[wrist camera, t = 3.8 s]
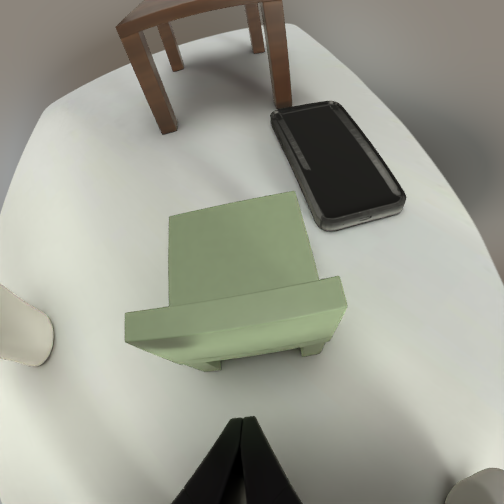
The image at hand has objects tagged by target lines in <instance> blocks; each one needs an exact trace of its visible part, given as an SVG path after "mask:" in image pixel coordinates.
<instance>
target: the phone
mask: <svg viewBox="0 0 504 504" xmlns="http://www.w3.org/2000/svg"><path fill="white" fill-rule="evenodd" d="M270 117H271V124H272V127H273V129H274V131H275V133H276V135H277V137H278V139H279V142H280V144H281V146H282V148H283V150H284V152H285V154H286V156H287V158H288V161H289V163H290V165H291V167H292V169H293V171H294V174H295V176H296V178H297V180H298V183H299V185H300V187H301V189H302V192H303V194H304V196H305V198H306V201H307V203H308V205H309V208H310V210H311V212H312V215H313V217H314V219H315V222H316V224H317V225H318V226H319V227H320V228H321V229H323V230H325V231H337V230H340V229H344V228H348V227H351V226H355V225H359V224H362V223H366V222H370V221H373V220H377V219H381V218H384V217H388V216H392V215H395V214H398V213H400V212H401V210H402V208H403V206H404V204H405V201H406V195H405V193H404V191H403V189H402V188H401V186H400V184H399V183H398V181H397V180H396V178H395V177H394V175H393V174H392V172H391V171H390V169H389V168H388V166H387V165H386V163H385V162H384V161H383V159H382V158H381V156H380V155H379V153H378V152H377V151H376V149H375V148H374V146H373V145H372V144H371V142H370V141H369V140H368V138H367V137H366V136H365V134H364V133H363V132H362V130H361V129H360V128H359V127H358V125H357V124H356V123H355V121H354V120H353V119H352V118H351V116H350V115H349V114H348V113H347V112H346V110H345V109H344V108H343V107H342V106H341V105H340V104H339V103H337V102H334V101H324V102H317V103H311V104H305V105H299V106H294V107H288V108H283V109H278V110H275V111H273V112H272V113H271V115H270Z"/></svg>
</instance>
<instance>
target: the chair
mask: <svg viewBox="0 0 504 504" xmlns="http://www.w3.org/2000/svg"><path fill="white" fill-rule="evenodd" d="M168 277H169V307H162V308H156V309H149V310H142V311H134V312H127V313H125V342H126V343H128V344H130V345H133V346H135V347H137V348H140V349H142V350H145V351H147V352H149V353H152V354H154V355H157V356H159V357H162V358H165V359H167V360H170V361H172V362H175V363H177V364H180V365H183V364H184V365H187V366H190V367H193V368H195V369H198V370H201V371H204V372H208V371H217V370H221V361H220V360H227V359H235V358H242V357H248V356H255V355H261V354H267V353H273V352H279V351H284V350H290V349H295V348H300V349H301V354H302V357H305V356H310V355H315V354H319V353H320V352H321V351H322V349H323V347H324V345H325V343H326V342H329V341H330V340H331V338H332V336H333V334H334V332H335V330H336V328H337V326H338V324H339V322H340V321H341V319H342V317H343V315H344V313H345V311H346V309H347V302H346V298H345V294H344V291H343V287H342V283H341V280H340V277H339V276H335V277H331V278H326V279H321V280H319V277H318V273H317V269H316V265H315V262H314V258H313V254H312V250H311V246H310V243H309V239H308V235H307V232H306V228H305V225H304V221H303V218H302V214H301V211H300V207H299V204H298V200H297V197H296V194H295V191H291V192H285V193H280V194H274V195H269V196H264V197H259V198H253V199H248V200H243V201H238V202H234V203H229V204H224V205H219V206H214V207H210V208H205V209H201V210H196V211H192V212H187V213H183V214H179V215H174V216H170V217H169V247H168Z"/></svg>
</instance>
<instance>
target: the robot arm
mask: <svg viewBox="0 0 504 504" xmlns="http://www.w3.org/2000/svg"><path fill="white" fill-rule="evenodd" d="M171 504H303V503H302V502H301V500H300V499H299V497H298V496H297V494H296V492H295V491H294V489H293V487H292V485H291V484H290V482H289V480H288V478H287V477H286V475H285V473H284V471H283V469H282V467H281V466H280V464H279V462H278V460H277V458H276V456H275V454H274V452H273V450H272V448H271V447H270V445H269V443H268V441H267V439H266V437H265V435H264V433H263V431H262V429H261V427H260V425H259V423H258V421H257V419H256V417H255V416H250V417H244V418H232V419H230V421H229V422H228V424H227V425H226V427H225V428H224V430H223V431H222V433H221V435H220V436H219V438H218V439H217V441H216V442H215V444H214V445H213V447H212V448H211V449H210V451H209V452H208V454H207V455H206V457H205V458H204V460H203V461H202V463H201V464H200V465H199V467H198V468H197V470H196V471H195V473H194V474H193V475H192V477H191V478H190V480H189V481H188V482H187V484H186V485H185V486H184V489H182V490H181V492H180V493H179V494H178V496H177V497H176V498H175V500H174V501H173V502H172V503H171Z"/></svg>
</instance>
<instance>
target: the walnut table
mask: <svg viewBox="0 0 504 504" xmlns="http://www.w3.org/2000/svg"><path fill="white" fill-rule="evenodd" d="M259 2H260V7H261V12H262V19H263V26H264V32H265V39H266V46H267V53H268V60H269V68H270V75H271V83H272V91H273V99H274V103H275V106H276V108H277V109H280V108H287V107H292V95H291V82H290V70H289V59H288V49H287V39H286V30H285V22H284V13H283V5H282V0H144V1H143V2H142V3H140V4H139V5H138V6H137V7H136V8H135V9H134V10H133V11H132V12H130V13H129V14H128V15H127V16H126V17H125V18H124V19H123V20H122V21H121V22H120V23H119V24H118V25H117V26H116V29H117V32H118V34H119V37H120V39H121V41H122V43H123V45H124V48H125V50H126V53H127V55H128V58H129V60H130V62H131V65H132V67H133V69H134V72H135V74H136V76H137V79H138V81H139V83H140V85H141V88H142V90H143V92H144V95H145V97H146V99H147V101H148V104H149V106H150V108H151V110H152V113H153V115H154V117H155V119H156V122H157V124H158V126H159V128H160V130H161V133H162V135H163V134H167V133H170V132H174V131H177V124H178V122H177V119H176V116H175V114H174V111H173V109H172V106H171V104H170V101H169V99H168V96H167V94H166V91H165V88H164V86H163V83H162V81H161V78H160V75H159V73H158V70H157V68H156V65H155V62H154V60H153V57H152V54H151V52H150V49H149V47H148V44H147V42H146V39H145V36H144V33H143V30H145V29H148V28H151V27H154V26H157V27H158V30H159V33H160V36H161V39H162V42H163V44H164V47H165V50H166V53H167V56H168V59H169V62H170V65H171V67H172V70H173V72H175V71H178V70H182V69H184V63H183V60H182V57H181V54H180V51H179V47H178V44H177V42H176V38H175V35H174V32H173V29H172V26H171V23H170V21H173V20H177V19H180V18H184V17H187V16H191V15H195V14H199V13H203V12H208V11H212V10H217V9H222V8H227V7H233V6H238V5H244V6H245V12H246V17H247V23H248V28H249V34H250V39H251V45H252V50H253V53H254V54H255V53H261V52H265V49H264V42H263V35H262V29H261V22H260V16H259V10H258V4H257V3H259Z"/></svg>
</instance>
